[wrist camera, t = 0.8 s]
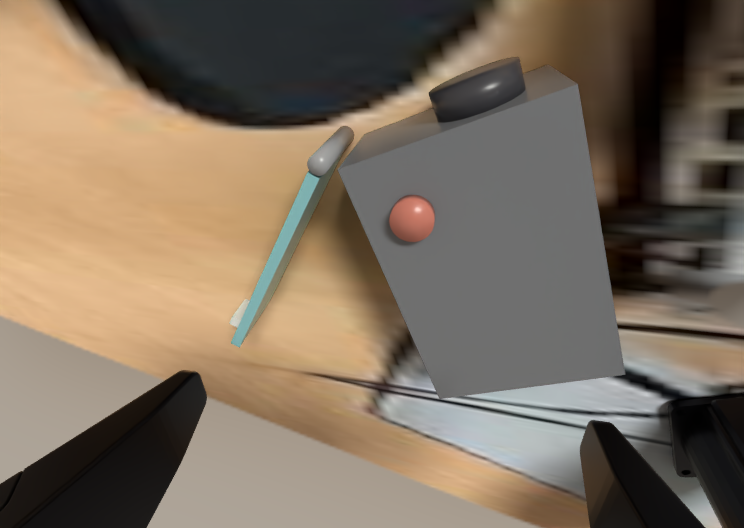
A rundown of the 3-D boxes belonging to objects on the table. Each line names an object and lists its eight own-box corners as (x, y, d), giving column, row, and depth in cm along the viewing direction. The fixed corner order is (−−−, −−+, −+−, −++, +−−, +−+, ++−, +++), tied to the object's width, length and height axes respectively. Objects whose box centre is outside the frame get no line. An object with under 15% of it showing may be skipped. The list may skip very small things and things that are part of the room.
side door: (331, 116, 19) (300, 143, 15) (357, 131, 19) (331, 162, 15) (254, 289, 25) (218, 338, 21) (273, 299, 25) (241, 350, 21)
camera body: (593, 303, 22) (630, 385, 17) (441, 331, 24) (435, 409, 20) (543, 37, 16) (576, 50, 11) (353, 114, 19) (317, 149, 14)
